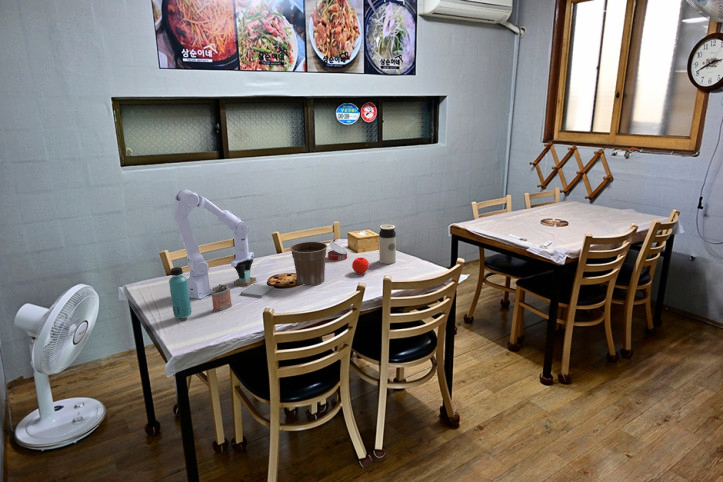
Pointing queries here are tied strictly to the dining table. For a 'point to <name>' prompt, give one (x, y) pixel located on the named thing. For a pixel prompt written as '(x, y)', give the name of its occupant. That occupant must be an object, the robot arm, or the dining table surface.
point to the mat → (257, 290)
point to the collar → (245, 282)
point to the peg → (246, 277)
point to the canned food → (337, 252)
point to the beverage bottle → (179, 293)
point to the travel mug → (387, 244)
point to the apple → (360, 265)
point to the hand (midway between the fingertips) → (244, 276)
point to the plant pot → (309, 262)
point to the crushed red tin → (221, 298)
